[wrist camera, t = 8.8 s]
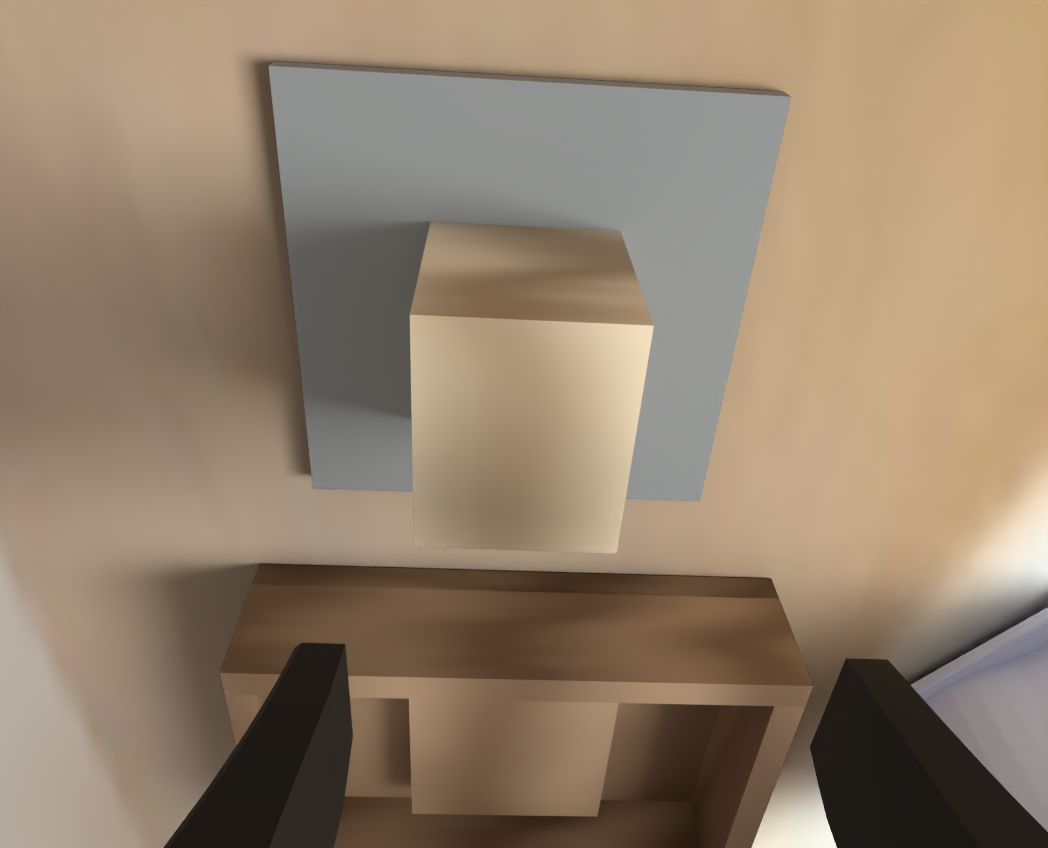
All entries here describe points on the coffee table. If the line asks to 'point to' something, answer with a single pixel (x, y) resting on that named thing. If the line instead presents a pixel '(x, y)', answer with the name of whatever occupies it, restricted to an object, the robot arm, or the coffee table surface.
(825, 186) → the coffee table surface
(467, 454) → the maple block
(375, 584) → the walnut crate
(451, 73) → the slate mat
